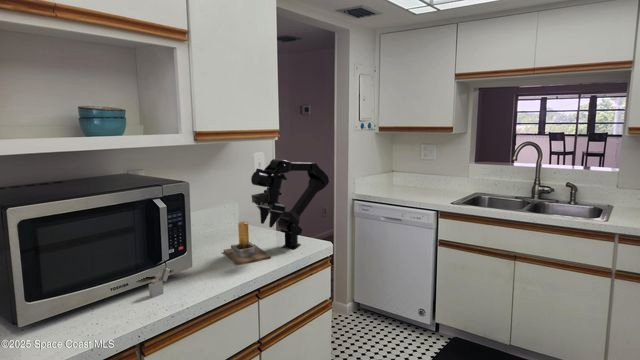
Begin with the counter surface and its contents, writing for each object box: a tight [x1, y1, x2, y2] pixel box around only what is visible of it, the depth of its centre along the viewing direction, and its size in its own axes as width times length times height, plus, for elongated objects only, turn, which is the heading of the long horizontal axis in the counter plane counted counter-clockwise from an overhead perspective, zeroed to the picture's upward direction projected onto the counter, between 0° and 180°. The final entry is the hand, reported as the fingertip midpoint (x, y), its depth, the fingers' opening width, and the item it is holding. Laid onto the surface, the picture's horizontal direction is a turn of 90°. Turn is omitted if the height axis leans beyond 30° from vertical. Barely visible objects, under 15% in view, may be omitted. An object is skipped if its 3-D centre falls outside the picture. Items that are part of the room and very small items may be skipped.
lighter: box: [148, 268, 170, 299], centre depth 132 cm, size 7×2×8 cm, turn 144°
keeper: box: [223, 241, 272, 266], centre depth 167 cm, size 14×18×4 cm
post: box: [237, 221, 250, 250], centre depth 166 cm, size 4×4×13 cm
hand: (266, 225), depth 167 cm, fingers open, 9 cm apart
